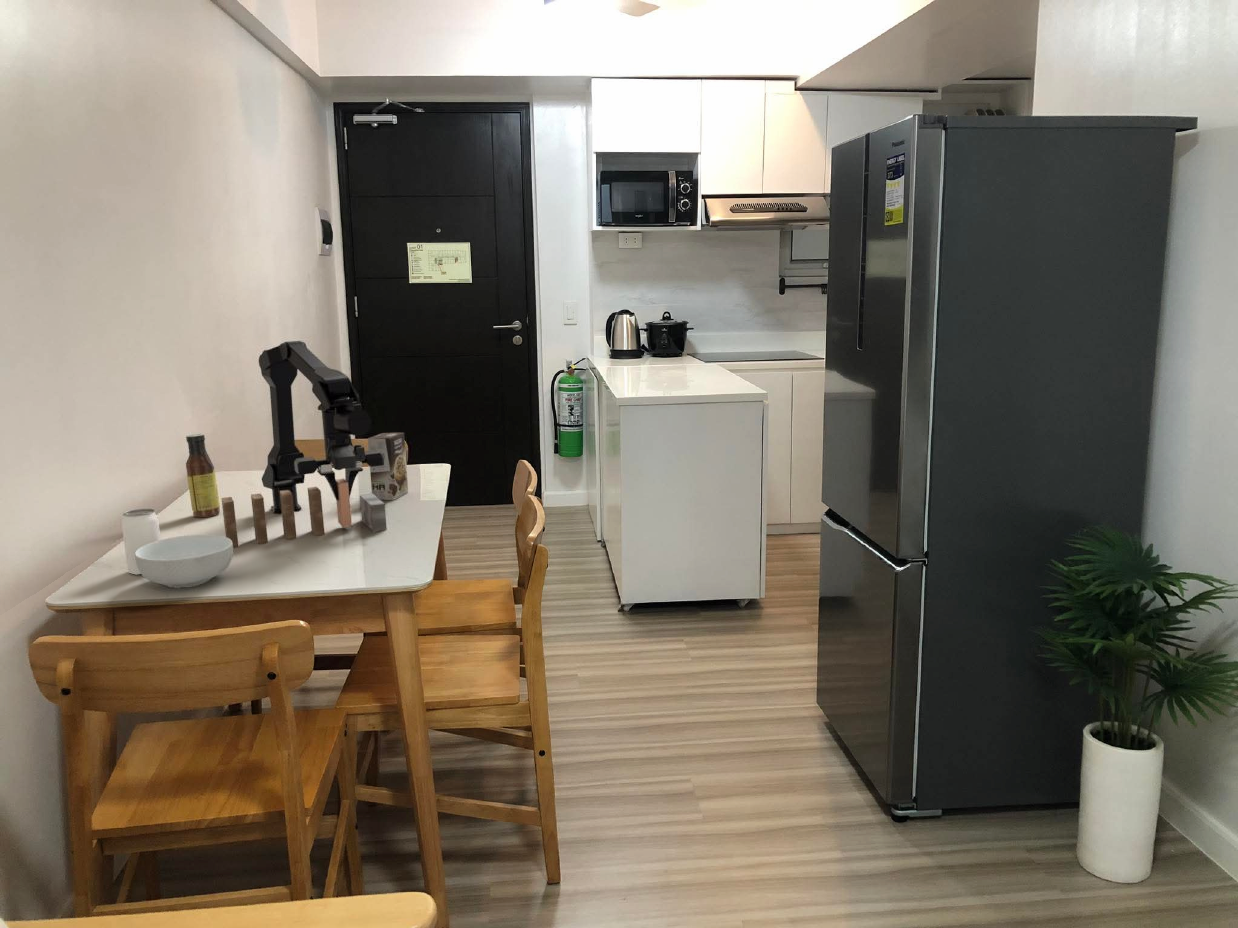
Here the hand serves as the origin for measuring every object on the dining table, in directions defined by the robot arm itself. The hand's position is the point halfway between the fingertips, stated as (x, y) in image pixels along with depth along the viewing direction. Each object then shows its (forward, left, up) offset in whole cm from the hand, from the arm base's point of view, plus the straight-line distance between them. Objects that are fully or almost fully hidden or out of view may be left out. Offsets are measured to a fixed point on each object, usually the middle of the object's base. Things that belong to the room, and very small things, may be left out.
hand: (342, 499), depth 217 cm
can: (+11, -41, -7) cm, 43 cm away
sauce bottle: (-32, -27, -7) cm, 42 cm away
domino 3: (0, -12, -7) cm, 14 cm away
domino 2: (0, -18, -7) cm, 19 cm away
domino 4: (0, -6, -7) cm, 9 cm away
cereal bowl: (+23, -34, -7) cm, 42 cm away
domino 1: (0, -24, -7) cm, 25 cm away
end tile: (0, 0, -6) cm, 6 cm away
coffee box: (-27, +17, -7) cm, 33 cm away
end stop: (0, +7, -7) cm, 9 cm away
